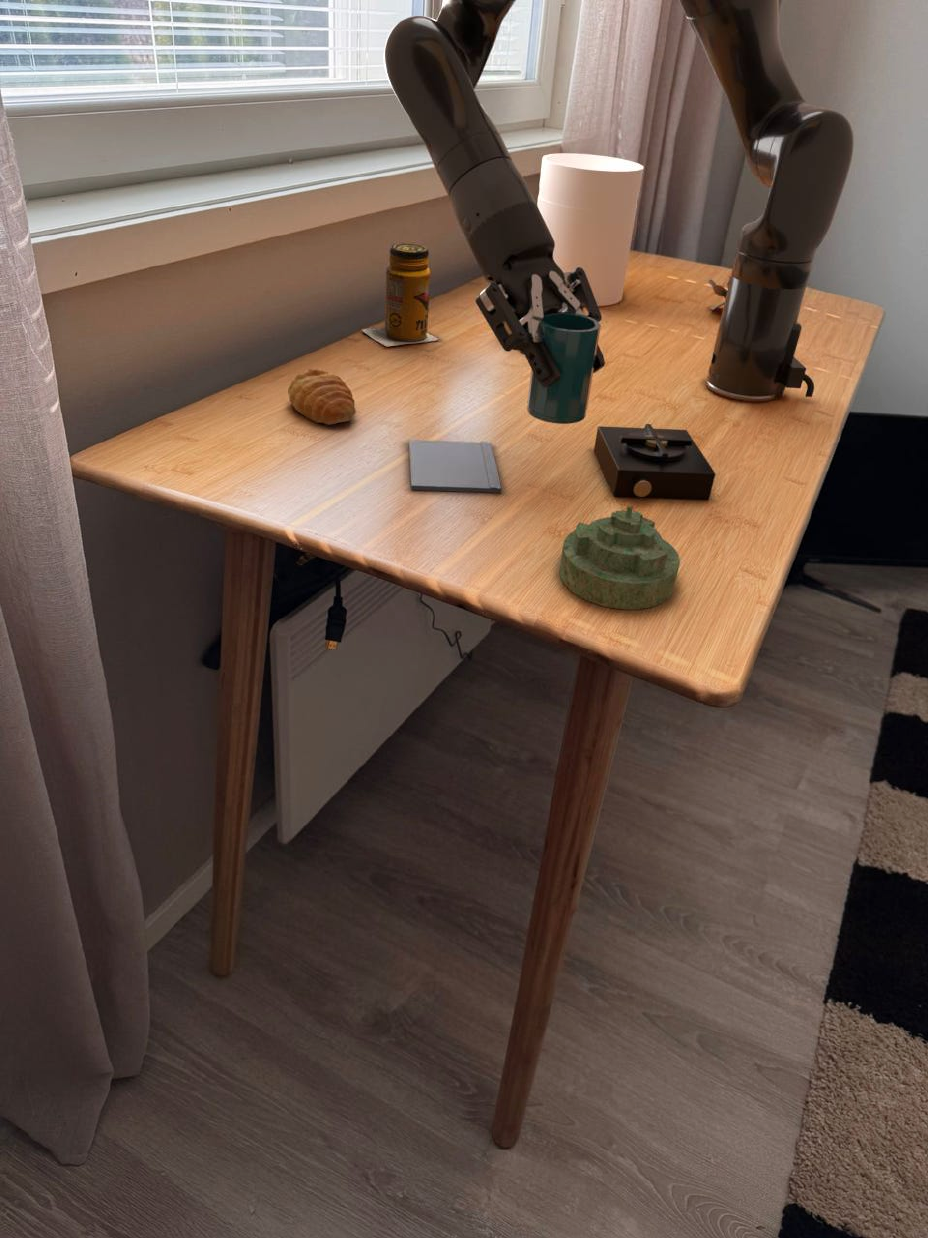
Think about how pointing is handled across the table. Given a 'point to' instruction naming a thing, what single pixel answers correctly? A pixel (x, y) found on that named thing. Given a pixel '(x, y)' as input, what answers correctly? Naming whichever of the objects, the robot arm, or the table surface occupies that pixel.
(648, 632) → the table surface
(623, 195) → the canister
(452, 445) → the grey notebook
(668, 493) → the stove
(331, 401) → the pastry
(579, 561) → the decorative artifact
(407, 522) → the table surface
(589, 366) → the dark teal cup
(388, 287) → the condiment
